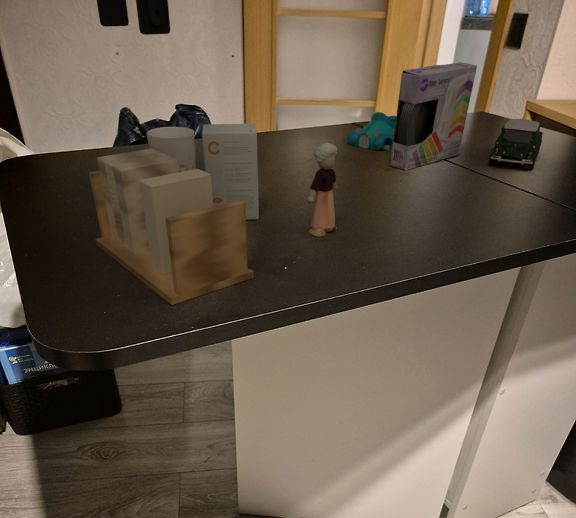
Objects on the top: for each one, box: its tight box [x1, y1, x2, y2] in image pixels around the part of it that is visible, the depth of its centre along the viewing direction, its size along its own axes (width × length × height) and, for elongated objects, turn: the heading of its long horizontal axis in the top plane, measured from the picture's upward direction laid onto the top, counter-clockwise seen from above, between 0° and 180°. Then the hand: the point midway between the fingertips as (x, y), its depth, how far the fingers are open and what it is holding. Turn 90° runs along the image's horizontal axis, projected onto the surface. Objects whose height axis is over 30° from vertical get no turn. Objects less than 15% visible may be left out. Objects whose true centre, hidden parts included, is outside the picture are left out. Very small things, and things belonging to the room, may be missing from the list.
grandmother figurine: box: [306, 142, 338, 238], centre depth 79 cm, size 8×4×13 cm, turn 158°
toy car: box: [346, 111, 397, 152], centre depth 126 cm, size 11×18×7 cm, turn 137°
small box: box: [201, 123, 260, 220], centre depth 84 cm, size 8×6×13 cm
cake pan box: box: [389, 61, 478, 171], centre depth 110 cm, size 19×5×18 cm, turn 129°
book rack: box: [88, 148, 255, 306], centre depth 70 cm, size 12×22×12 cm, turn 39°
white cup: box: [146, 126, 197, 172], centre depth 94 cm, size 8×8×10 cm
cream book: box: [139, 168, 213, 275], centre depth 68 cm, size 8×3×11 cm, turn 129°
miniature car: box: [487, 118, 544, 171], centre depth 115 cm, size 9×18×8 cm, turn 155°
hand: (134, 29), depth 58 cm, fingers open, 9 cm apart
